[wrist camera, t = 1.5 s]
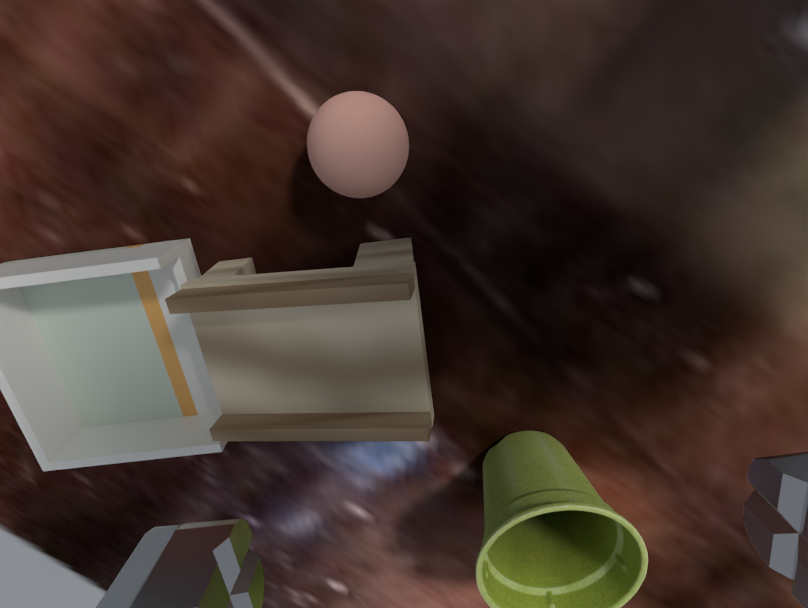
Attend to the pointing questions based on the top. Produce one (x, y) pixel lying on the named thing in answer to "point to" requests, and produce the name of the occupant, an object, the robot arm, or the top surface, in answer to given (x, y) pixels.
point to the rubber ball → (357, 144)
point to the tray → (105, 357)
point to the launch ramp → (315, 349)
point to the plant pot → (551, 532)
